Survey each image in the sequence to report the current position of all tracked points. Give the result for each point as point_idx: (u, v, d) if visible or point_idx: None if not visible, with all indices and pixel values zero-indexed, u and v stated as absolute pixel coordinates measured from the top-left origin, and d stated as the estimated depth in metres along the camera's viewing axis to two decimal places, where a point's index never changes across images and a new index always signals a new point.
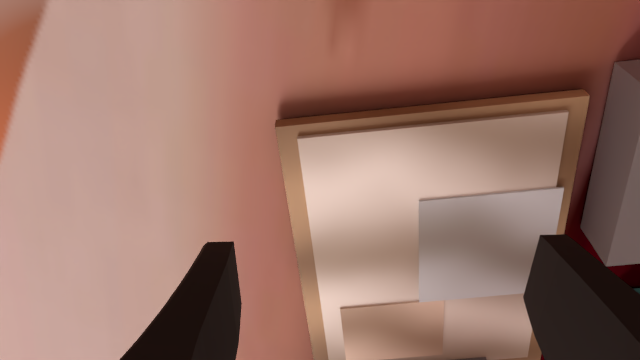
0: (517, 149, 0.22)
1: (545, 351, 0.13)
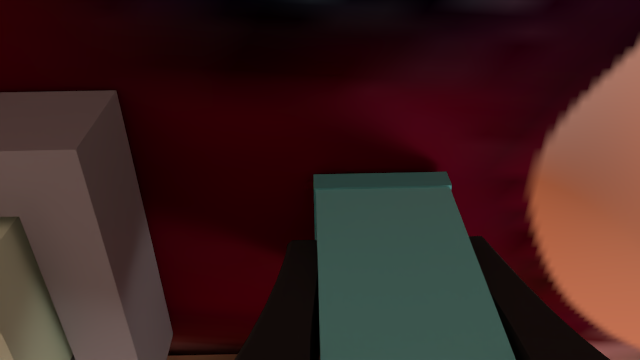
0: None
1: None
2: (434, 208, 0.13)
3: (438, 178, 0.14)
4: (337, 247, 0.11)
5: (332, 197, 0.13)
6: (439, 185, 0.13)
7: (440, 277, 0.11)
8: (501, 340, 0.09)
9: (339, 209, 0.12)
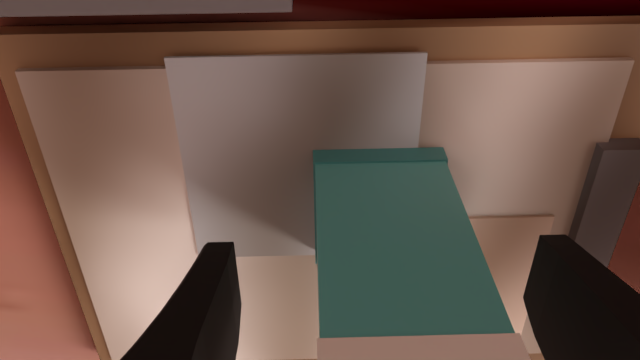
0: (97, 138, 0.14)
1: (546, 351, 0.13)
2: (431, 180, 0.13)
3: (435, 153, 0.14)
4: (336, 216, 0.12)
5: (331, 171, 0.13)
6: (436, 159, 0.13)
7: (435, 243, 0.11)
8: (494, 299, 0.10)
9: (338, 182, 0.13)
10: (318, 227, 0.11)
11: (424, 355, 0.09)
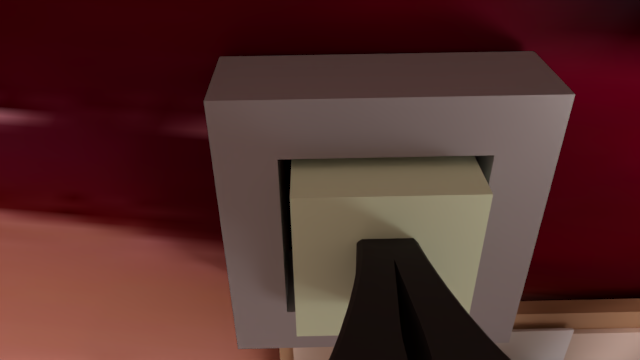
0: None
1: None
2: None
3: None
4: None
5: None
6: None
7: None
8: None
9: None
10: None
11: None
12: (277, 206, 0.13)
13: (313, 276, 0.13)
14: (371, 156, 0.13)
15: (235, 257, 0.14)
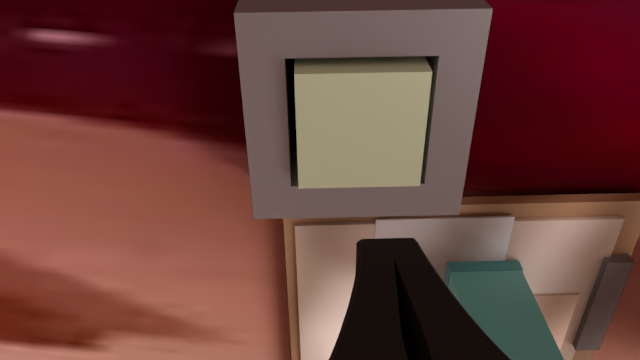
0: (328, 256, 0.25)
1: None
2: (516, 283, 0.24)
3: (515, 264, 0.25)
4: (471, 306, 0.23)
5: (460, 276, 0.24)
6: (516, 269, 0.25)
7: (525, 323, 0.22)
8: (558, 354, 0.21)
9: (466, 284, 0.24)
10: None
11: None
12: (284, 96, 0.19)
13: (310, 137, 0.19)
14: (351, 56, 0.18)
15: (253, 139, 0.19)
